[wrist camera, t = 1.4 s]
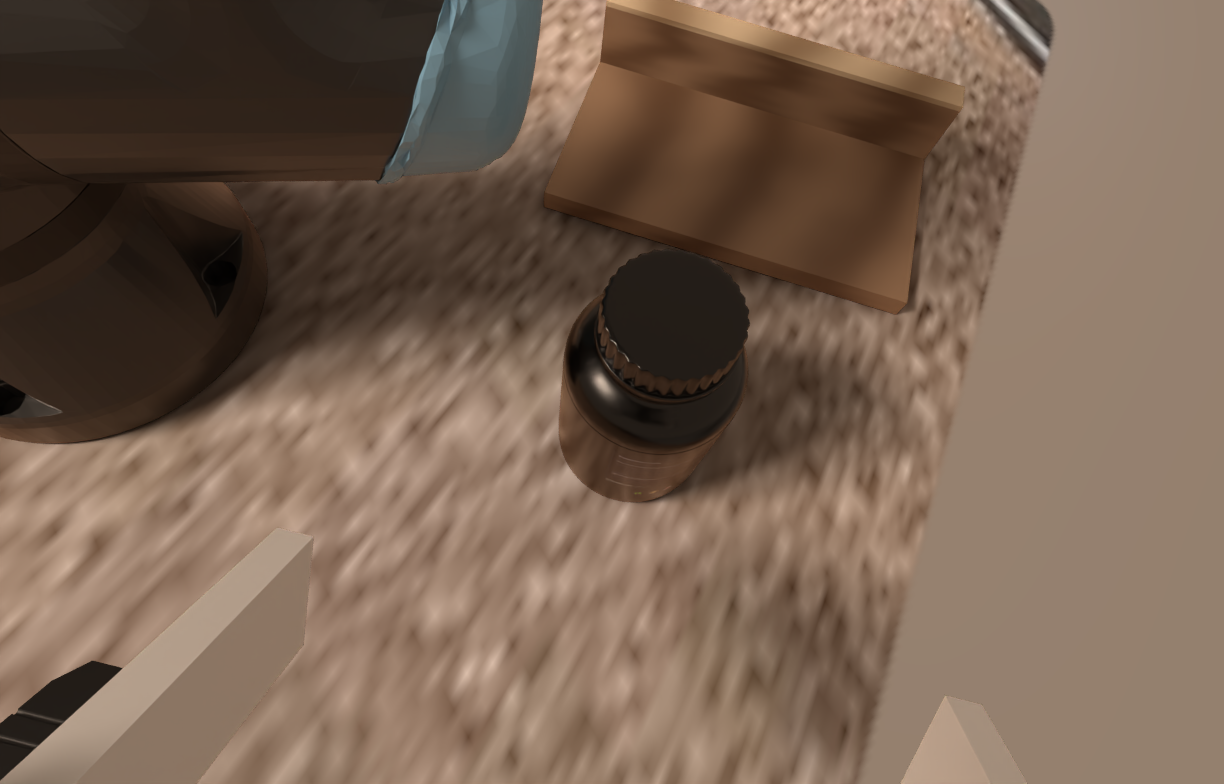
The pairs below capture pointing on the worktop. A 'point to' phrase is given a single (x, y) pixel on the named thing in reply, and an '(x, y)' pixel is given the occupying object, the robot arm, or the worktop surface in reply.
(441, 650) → the worktop surface
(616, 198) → the walnut shelf
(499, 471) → the worktop surface
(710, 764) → the worktop surface
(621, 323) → the supplement bottle
